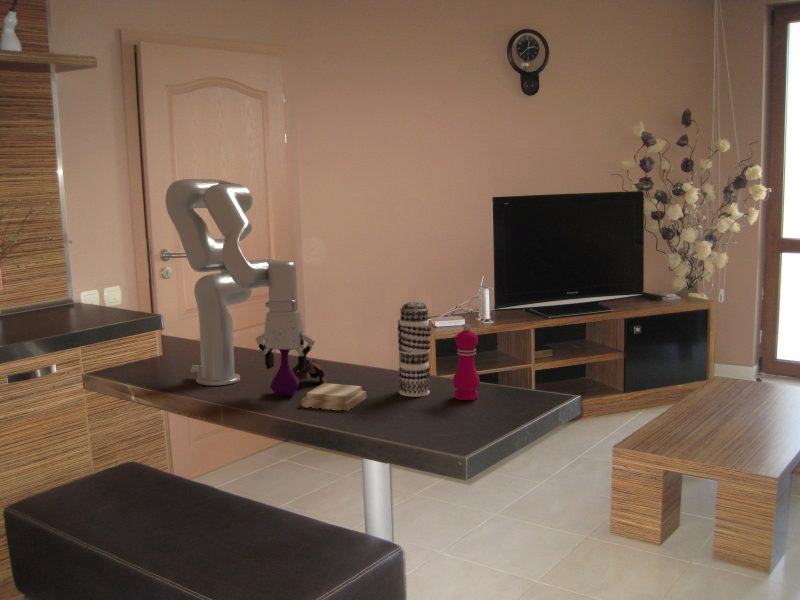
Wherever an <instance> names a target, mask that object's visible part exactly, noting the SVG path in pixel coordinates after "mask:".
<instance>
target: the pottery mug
mask: <svg viewBox="0 0 800 600" xmlns="http://www.w3.org/2000/svg"><path fill="white" fill-rule="evenodd" d="M306 362H307V365H306V368H305V369H304V370H302V371H299V370H298V363H297V364H296V365H294V366H293V367H292V368H291V370H292V372H293V373H294V374H295V375H296V377H297V378H298V379H299V381H301V380H306V381H307V380H308V378H307V377H308V376H307V375H308V374H309V376H310V379H317V378H318V379H319V382H322V384H323V383H327V382H328V381H327V379H326V378H327V376H326V375H325V372H324V370H323V368H322V367H321V366H320V364H319V363H318V361H317V360H315V359H311V358H306Z"/></svg>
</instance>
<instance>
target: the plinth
mask: <svg viewBox="0 0 800 600" xmlns="http://www.w3.org/2000/svg"><path fill="white" fill-rule="evenodd" d="M362 387H363V386H361V385H350V384H339V383H330V382H328V383H323V382H322V383H321V384H320V385H318V386H316V387H315V388H313V389H311V390H309V391H307V392H306V396H304V397H303V398H301V407H302V406H303V407H302V408H309V407H312V408H311V409H319V408H321V409H322V410H330V409H331V410H333V411H341V410H344V411H343V412H349V411H350V409H351V408H352V409H353V408H355V407H356V406H358V405H359V404H360V403H362V402H363V401H365V400H367V390H362ZM357 404H358V405H357ZM354 406H355V407H354ZM321 409H320V410H321ZM352 409H351V410H352ZM331 410H330V411H331ZM345 410H346V411H345Z"/></svg>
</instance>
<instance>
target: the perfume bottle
mask: <svg viewBox="0 0 800 600" xmlns="http://www.w3.org/2000/svg"><path fill="white" fill-rule="evenodd" d="M277 350H278V351H279V353H280V366H279V368H278V370H277V372H276V374H275V376H274V377H273V379H272V380H271V382H270V383H271V384H270V389H271V390H272V391H273V393H274V395H275V396H276V397H277V396H292V397H293V396H294V395H295V393H296V391H297V390H298V388H299V384H300V380H299V379H298V378H297V377H296V375H295V374H294V373H293V372H294V371H293V370H292V368H291V367H290V364H289V363H290V361H289V353H290V351H291V350H283V349H277ZM292 371H293V372H292Z"/></svg>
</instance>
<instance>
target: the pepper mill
mask: <svg viewBox="0 0 800 600" xmlns="http://www.w3.org/2000/svg"><path fill="white" fill-rule="evenodd" d="M478 343H479V339H478V335H477V334H476V333H475V332H474V331H472V330H471V327H470V325H468V324H465V325H464V326H463V330H461V331H459V332H458V333H457V334H456V336H455V344H456V346H457V349H456V351H457V353H456V354H457V355H458V365H457V368H456V370H455V372H454V375H453V378H452V385H453V387H454V389H456V390H455V391H454V399H455V398H456V399H455V400H457V399H458V401H461V400H468V401H467V402H470V401H469V400H473V401H476V400H478V398H479V392H478V391H477V389H478V388H479V387H480V385H481V382H480V377H479V373H478V371H477V369H476V364H475V355H476V354H477V352H476V351H477V349H476V347H477V345H478ZM475 399H476V400H475Z"/></svg>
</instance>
